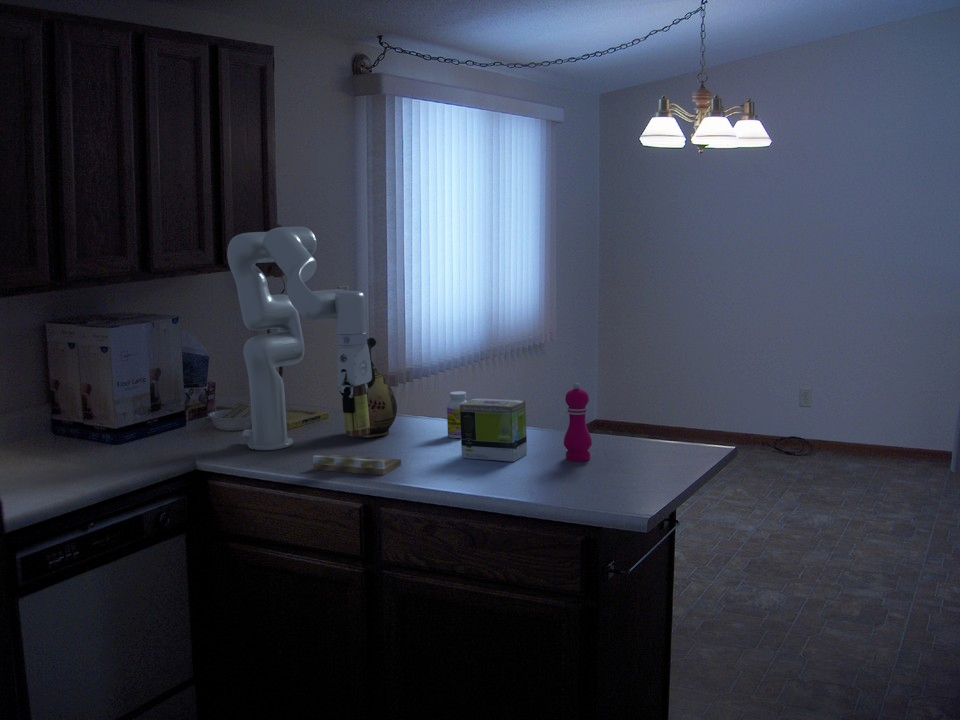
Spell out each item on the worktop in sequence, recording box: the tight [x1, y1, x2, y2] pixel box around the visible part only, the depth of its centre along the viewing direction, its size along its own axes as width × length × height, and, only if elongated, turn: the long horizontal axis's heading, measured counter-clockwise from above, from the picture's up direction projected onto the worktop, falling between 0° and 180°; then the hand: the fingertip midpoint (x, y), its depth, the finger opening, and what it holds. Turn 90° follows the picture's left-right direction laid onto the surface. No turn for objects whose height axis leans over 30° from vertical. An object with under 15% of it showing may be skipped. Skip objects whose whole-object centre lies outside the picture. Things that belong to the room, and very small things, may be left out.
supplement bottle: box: [446, 390, 469, 439], centre depth 288 cm, size 7×7×13 cm
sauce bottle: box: [343, 383, 370, 438], centre depth 255 cm, size 7×6×20 cm
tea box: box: [460, 397, 528, 463], centre depth 264 cm, size 15×10×15 cm, turn 65°
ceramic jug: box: [360, 337, 398, 439], centre depth 291 cm, size 17×15×30 cm
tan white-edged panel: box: [312, 454, 402, 476], centre depth 257 cm, size 20×10×4 cm, turn 68°
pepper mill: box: [563, 382, 593, 463], centre depth 258 cm, size 7×7×20 cm
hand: (355, 409), depth 255 cm, fingers closed on sauce bottle, 6 cm apart
